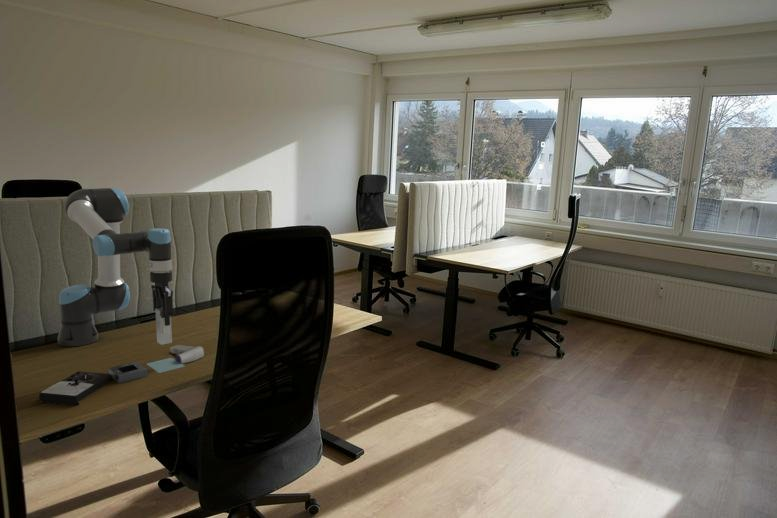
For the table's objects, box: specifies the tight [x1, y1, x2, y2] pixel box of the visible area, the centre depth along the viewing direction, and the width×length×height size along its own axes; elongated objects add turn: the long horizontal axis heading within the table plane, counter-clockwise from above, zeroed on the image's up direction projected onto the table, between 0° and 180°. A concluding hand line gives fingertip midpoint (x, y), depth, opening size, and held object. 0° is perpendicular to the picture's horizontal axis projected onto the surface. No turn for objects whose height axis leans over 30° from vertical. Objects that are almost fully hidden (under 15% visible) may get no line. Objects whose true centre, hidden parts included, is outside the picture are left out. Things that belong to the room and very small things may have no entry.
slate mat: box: [146, 357, 186, 374], centre depth 213 cm, size 12×10×1 cm
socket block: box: [108, 361, 149, 384], centre depth 202 cm, size 10×10×4 cm
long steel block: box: [154, 308, 173, 345], centre depth 210 cm, size 4×4×13 cm
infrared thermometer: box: [169, 344, 205, 364], centre depth 223 cm, size 5×12×15 cm
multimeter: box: [38, 370, 113, 407], centre depth 189 cm, size 13×19×5 cm
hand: (164, 331), depth 210 cm, fingers closed on long steel block, 4 cm apart
